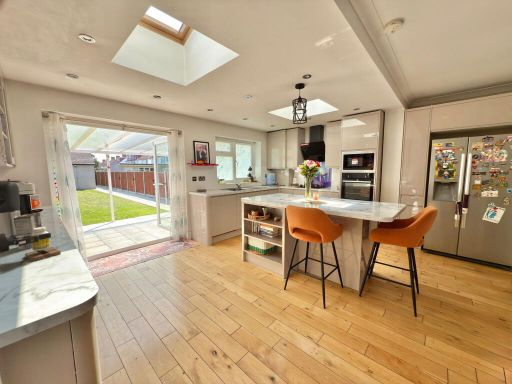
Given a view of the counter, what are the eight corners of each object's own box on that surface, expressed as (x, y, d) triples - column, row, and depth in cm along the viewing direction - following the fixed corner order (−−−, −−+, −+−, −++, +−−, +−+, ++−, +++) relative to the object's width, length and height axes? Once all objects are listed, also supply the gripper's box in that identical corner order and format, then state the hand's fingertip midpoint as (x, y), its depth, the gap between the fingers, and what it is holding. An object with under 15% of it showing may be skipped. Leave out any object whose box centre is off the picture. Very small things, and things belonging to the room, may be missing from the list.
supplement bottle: (34, 248, 92) (32, 227, 92) (51, 246, 96) (48, 225, 95) (31, 252, 88) (29, 230, 88) (49, 249, 92) (46, 228, 91)
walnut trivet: (25, 256, 92) (24, 253, 91) (52, 250, 99) (51, 247, 99) (33, 261, 86) (32, 258, 86) (60, 254, 94) (60, 250, 93)
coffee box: (28, 244, 109) (24, 214, 108) (44, 242, 112) (40, 213, 110) (17, 249, 101) (12, 217, 99) (35, 247, 104) (30, 216, 102)
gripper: (-10, 238, 75) (53, 227, 90) (-17, 233, 83) (42, 224, 97) (-7, 258, 76) (55, 244, 91) (-15, 251, 83) (44, 240, 98)
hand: (48, 234), depth 94 cm, fingers closed on supplement bottle, 5 cm apart
